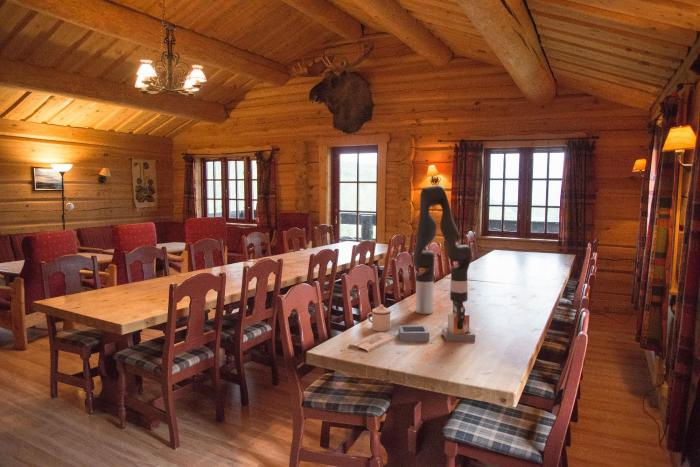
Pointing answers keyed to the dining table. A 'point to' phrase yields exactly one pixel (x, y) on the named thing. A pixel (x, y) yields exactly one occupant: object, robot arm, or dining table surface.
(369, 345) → the newspaper
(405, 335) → the port sleeve
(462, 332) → the small box
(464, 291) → the robot arm
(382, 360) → the dining table surface
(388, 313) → the teacup with lid
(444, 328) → the frame
